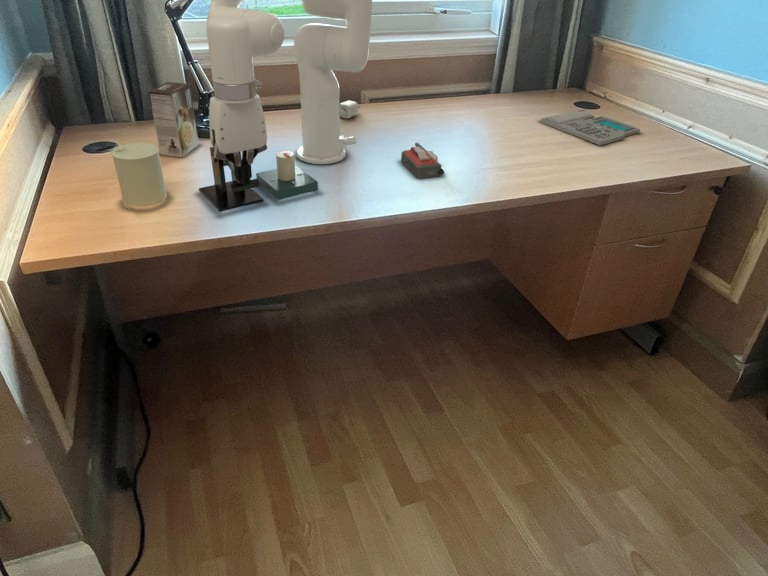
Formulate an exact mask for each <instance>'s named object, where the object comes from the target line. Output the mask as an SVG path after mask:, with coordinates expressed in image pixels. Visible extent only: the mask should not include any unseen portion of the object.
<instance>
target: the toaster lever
mask: <svg viewBox="0 0 768 576" xmlns="http://www.w3.org/2000/svg"><path fill="white" fill-rule="evenodd" d="M223 165H224V167H226V166H227V167H228V169H229V170H230V172H231V171H232V173H233V174H234V176H235V172H234V164H233V163H232V162H231V161H229V160H227V159H225V160H223ZM238 182H239V181H238ZM260 186H261V185H260V182H259V180H258V179H257V178H254V179H251V184H247V183H246V185H242V184H241V183H240V182H239V183H235V184H231V185H230V190H231V192H232V193H233V192H238V191H242V190H246V189H254V188H260Z"/></svg>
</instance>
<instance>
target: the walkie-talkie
mask: <svg viewBox="0 0 768 576" xmlns="http://www.w3.org/2000/svg"><path fill="white" fill-rule="evenodd" d="M400 155H401V157H400V161H401V163H402V164H403V165H404V166H405V168H407V169H408V170H409V171H410V172H411V174H413V175H414V176H415V177H416V178H417V179H428V178H436V177H437V178H438V177H440V176H442V175H445V170H444V169H443V168H442V164H440V163H439V162H438V155H437V154H436V153H434V151H433V150H427V149H426V148H424V147H423V146H422V145H421V144H420V143H419V142H415V143H414V146H411V147H410V148H409V149H407V150H403V151H401V154H400Z"/></svg>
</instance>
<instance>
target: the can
mask: <svg viewBox="0 0 768 576" xmlns="http://www.w3.org/2000/svg"><path fill="white" fill-rule="evenodd" d="M111 157H112V159H113V164H114V167H115V171H116V172H115V173H116V175H117V180H118V183H119V188H120V193H121V197H122V205H123V206H124V208H126V209H128V210H131V211H132V210H133V209H132V207H136V208H137V207H139V208H141V207H143V208H144V207H150V206H154V205H158V204H160V203H162V202H164V201H165V200H166V199H167V197H168V194H167V189H166V185H165V180H164V174H163V168H162V164H161V157H160V148H159V146H158V145H156V144H153V143H149V142H130V143H125V144H122V145H119V146H117V147H115V148H113V149H112V151H111Z"/></svg>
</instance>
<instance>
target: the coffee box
mask: <svg viewBox="0 0 768 576" xmlns="http://www.w3.org/2000/svg"><path fill="white" fill-rule="evenodd" d="M148 97H149V102H150V107H151V112H152V117H153V122H154V127H155V128H154V129H155V132H156V137H157V143H158V149H159V155H161V156H168V157H177V158H184V157H185V156H187V155H188V154H189V153H190V152H192V151H193V150H194V149H195V148H197V147H198V146H199V145H200V141H199V136H198V130H197V123H196V117H195V110H194V104H193V97H192V90H191V84H190V83H183V82H171V81H166V82H164V83H162V84H160V85H158V86H157V87H155V88H152V89H150V90H149V91H148Z"/></svg>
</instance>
